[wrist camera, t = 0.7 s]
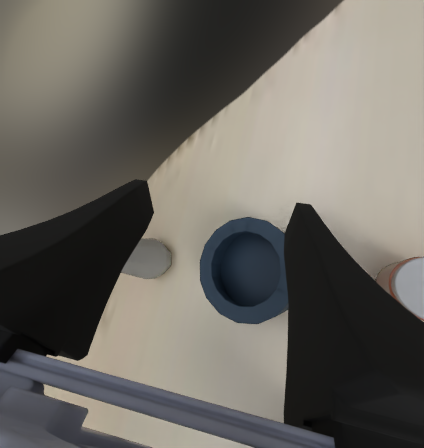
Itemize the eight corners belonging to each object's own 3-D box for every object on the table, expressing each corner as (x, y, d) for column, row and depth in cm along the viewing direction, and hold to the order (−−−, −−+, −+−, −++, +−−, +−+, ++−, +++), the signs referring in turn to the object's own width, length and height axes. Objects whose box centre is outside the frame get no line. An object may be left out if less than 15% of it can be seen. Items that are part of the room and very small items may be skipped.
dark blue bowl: (325, 293, 21) (322, 296, 17) (239, 330, 24) (221, 339, 20) (274, 211, 25) (263, 198, 21) (208, 252, 29) (188, 247, 25)
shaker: (453, 300, 16) (515, 311, 11) (397, 319, 18) (426, 338, 12) (412, 254, 18) (448, 242, 12) (365, 275, 20) (376, 272, 14)
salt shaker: (160, 234, 34) (76, 212, 23) (182, 254, 31) (97, 240, 20) (143, 264, 34) (52, 257, 23) (162, 287, 31) (68, 291, 20)
